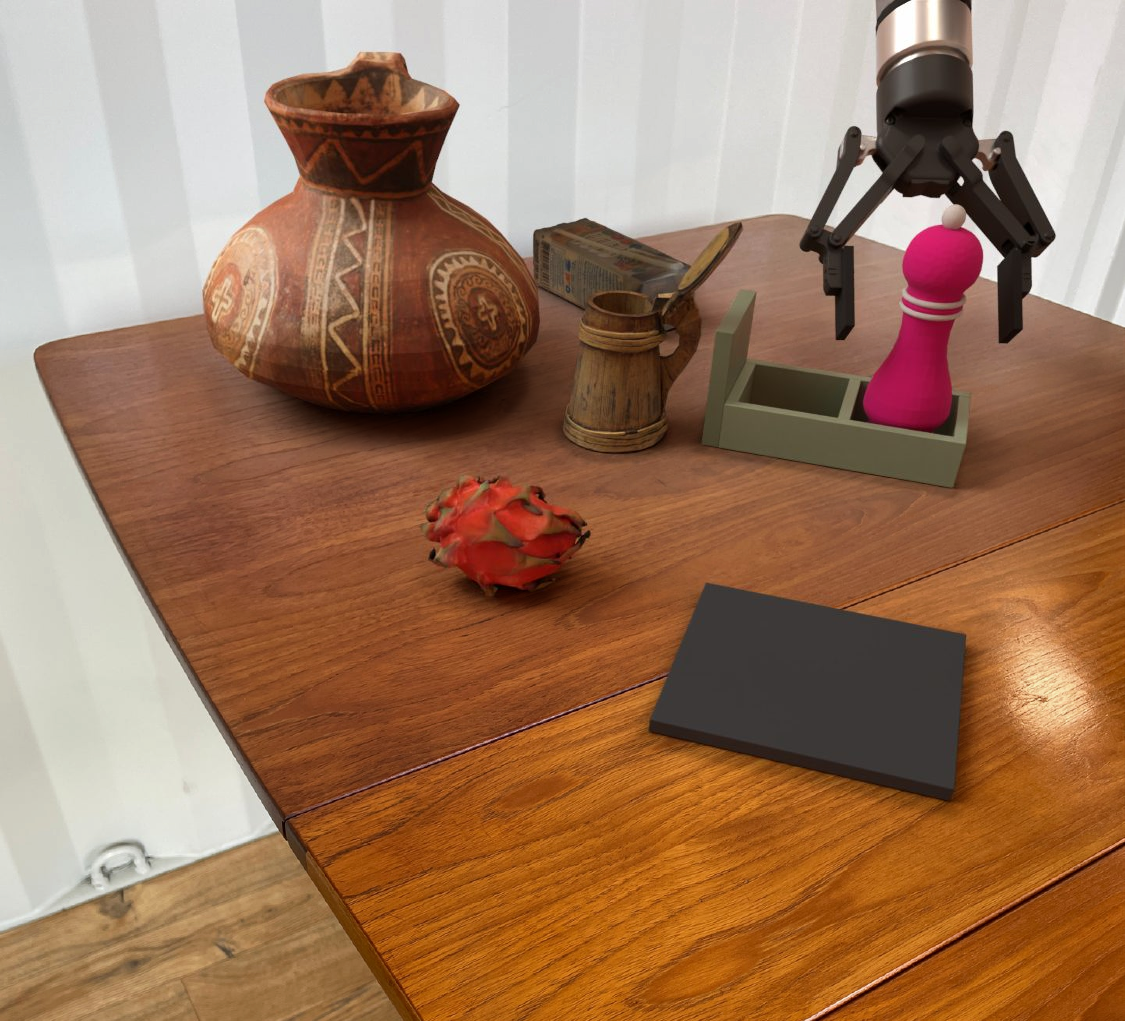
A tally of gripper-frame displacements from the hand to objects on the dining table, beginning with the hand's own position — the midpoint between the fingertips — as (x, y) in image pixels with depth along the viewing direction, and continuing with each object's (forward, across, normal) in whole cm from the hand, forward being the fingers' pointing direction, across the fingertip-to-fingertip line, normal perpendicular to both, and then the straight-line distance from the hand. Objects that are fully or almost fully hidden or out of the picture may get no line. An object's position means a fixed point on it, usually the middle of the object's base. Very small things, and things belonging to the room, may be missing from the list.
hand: (928, 335), depth 87 cm
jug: (-3, +46, -18) cm, 49 cm away
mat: (+30, +14, +15) cm, 37 cm away
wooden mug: (+5, +22, -10) cm, 25 cm away
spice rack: (+5, +5, -9) cm, 12 cm away
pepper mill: (+7, 0, -8) cm, 11 cm away
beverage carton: (-17, +23, -32) cm, 43 cm away
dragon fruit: (+22, +34, +6) cm, 41 cm away
